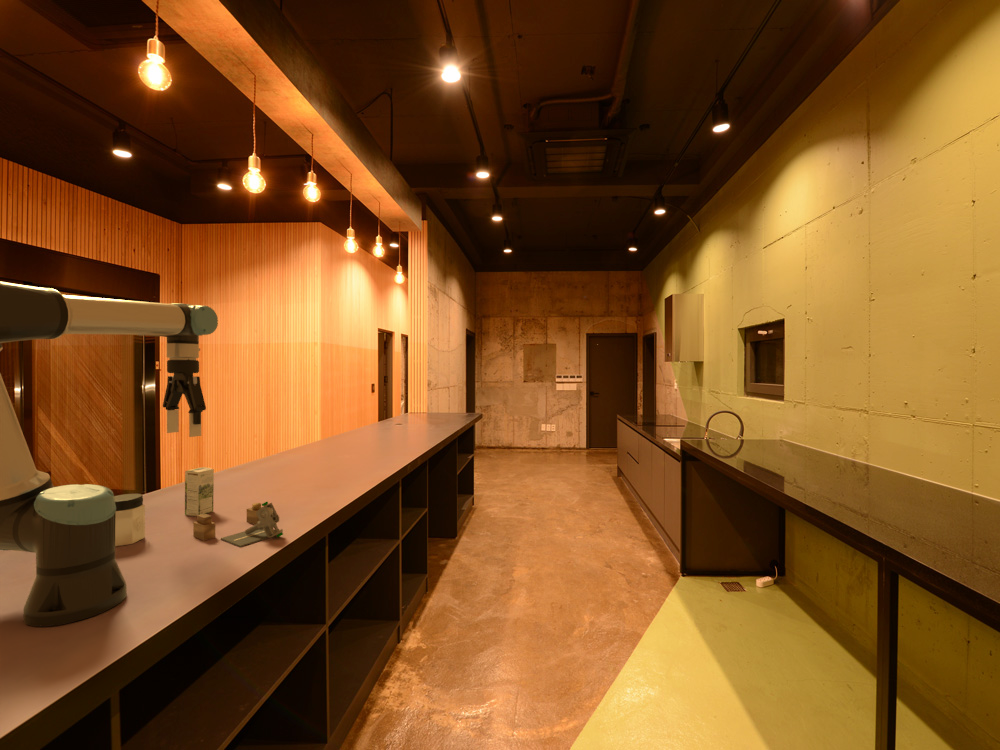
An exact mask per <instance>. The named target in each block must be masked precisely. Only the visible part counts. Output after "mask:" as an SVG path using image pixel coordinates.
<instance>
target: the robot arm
mask: <svg viewBox="0 0 1000 750" xmlns="http://www.w3.org/2000/svg"><path fill="white" fill-rule="evenodd" d="M218 322H219V320H218V315H217V312H216V311H215V310H214V309H213V308H212V307H210V306H208V305H200V304H191V303H190V304H189V303H174V302H172V303H164V302H152V301H150V302H149V301H142V300H141V301H140V300H129V299H128V300H125V299H114V298H105V297H103V298H102V297H91V296H80V295H68V294H67V295H66V294H62V293H61V292H60V291H58V290H57V289H54V288H52V287H51V288H50V287H41V286H39V287H38V286H33V285H24V284H18V283H12V282H6V281H0V352H1V351H2V350H3V349H4V348H3V345H2V344H4V343H12V342H20V341H21V342H22V341H29V340H30V341H31V340H32V341H33V340H54V339H58V338H61V337H62V336H63V335H129V336H130V335H134V336H136V335H137V336H139V337H141V336H147V337H148V336H149V337H163V338H166V358H167V360H166V372H167V373H168V374H173V375H168V376H167V383H166V388H165V393H164V397H163V403H162V408H165V411H166V433H167V434H173V433H174V434H175V433H179V431H180V430H179V426H180V424H179V421H180V420H179V419H180V417H179V416H180V415H179V411H180V407H179V403H180V401H181V399H182V396H183V395H184V398H185V399H186V400H185V401H186V403H187V404H188V407H189V410H188V425H189V427H188V430H189V431H188V433H189V434H188V437H189V438H193V437H201V436H202V412H203V411H206V410H207V407H206V401H205V399H204V398H205V397H204V395H203V391H202V386H201V378H200V376H194V374H198V373H200V361H199V360H198V358H200V354H199V353H200V351H201V348H200V336H201V337H202V336H207V335H211V334H213V333H214V332H215V331H216V330H217V329H218V325H219V323H218ZM114 496H115V495H114V492H113V490H111V488H109V487H107V486H103V485H99V484H91V483H90V484H88V483H84V484H77V483H76V484H66V485H65V484H64V485H58V486H54V484H53V481H52V479H51V476H50V474H49V473H47V472H46V471H45V472H44V471H41V470H38V469H37V468H36V465H35V462H34V460H33V457H32V454H31V452H30V449H29V445H28V444H27V441H26V438H25V436H24V434H23V430H22V428H21V425H20V422H19V419H18V416H17V414H16V411H15V409H14V406H13V403H12V401H11V398H10V396H9V392H8V391H7V387H6V385H5V382H4V378H3V376H2V373H0V550H1V551H16V552H26V553H28V552H29V553H33V554H34V553H35V565H36V566H35V568H36V570H35V571H36V574H35V575H36V576H35V580H34V582H33V584H32V586H31V588H30V592H29V593H28V596H27V599H26V601H25V604H24V606H23V623H24V624H25V625H28V626H31V627H38V628H39V627H42V628H43V627H54V626H61V625H66V624H71V623H75V622H79V621H81V620H85V619H89V618H92V617H94V616H97V615H99V614H102V613H104V612H106V611H109V610H110V609H112V608H114V607H116V606H117V605H119V604H120V603H122V602H123V601H124V600H125V599H126V597H127V582H126V579H125V577H124V575H123V574H122V571H121V569H120V567H119V565H118V563H117V560H116V546H115V518H116V505H115V499H114Z"/></svg>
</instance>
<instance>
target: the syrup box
mask: <svg viewBox="0 0 1000 750" xmlns="http://www.w3.org/2000/svg"><path fill="white" fill-rule="evenodd" d="M214 471H215V470H214V469H213V468H211V467H204V466H203V467H198V468H197V467H196V468H193V469H188V470H185V471H184V515H185V516H191V517H193V516H194V517H197V515H201V514H207V515H208V514H209V513H212V512H214V488H215V487H214V485H215V484H214V482H215V481H214V480H215V479H214V478H215V476H214V475H215V474H214V473H215V472H214Z"/></svg>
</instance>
